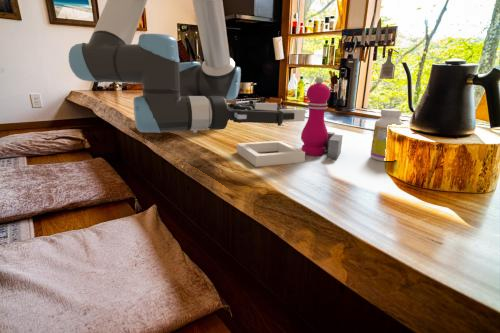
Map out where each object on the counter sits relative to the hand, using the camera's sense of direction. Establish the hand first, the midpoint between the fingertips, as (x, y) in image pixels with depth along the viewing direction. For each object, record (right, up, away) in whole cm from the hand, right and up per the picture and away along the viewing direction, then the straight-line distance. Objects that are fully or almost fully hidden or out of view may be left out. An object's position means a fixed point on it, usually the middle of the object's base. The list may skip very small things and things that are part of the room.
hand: (289, 111), depth 76 cm
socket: (-5, -12, +1) cm, 13 cm away
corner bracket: (+11, -10, +8) cm, 17 cm away
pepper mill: (+7, -10, +7) cm, 15 cm away
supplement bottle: (+25, -12, +3) cm, 28 cm away
